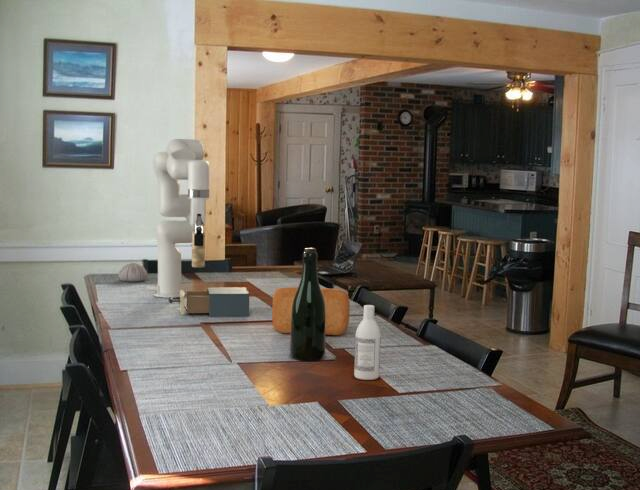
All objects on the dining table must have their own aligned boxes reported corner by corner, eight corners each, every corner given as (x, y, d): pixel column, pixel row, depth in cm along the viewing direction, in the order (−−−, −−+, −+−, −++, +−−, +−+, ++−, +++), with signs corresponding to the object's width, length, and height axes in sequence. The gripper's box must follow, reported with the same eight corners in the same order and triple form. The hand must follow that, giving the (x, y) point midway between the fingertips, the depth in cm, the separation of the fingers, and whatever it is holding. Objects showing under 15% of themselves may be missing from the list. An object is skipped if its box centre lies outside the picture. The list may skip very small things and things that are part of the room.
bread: (348, 290, 266) (354, 286, 284) (271, 287, 269) (281, 283, 286) (347, 336, 267) (353, 330, 285) (270, 333, 270) (280, 326, 287)
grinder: (192, 267, 290) (192, 231, 288) (191, 265, 294) (191, 230, 292) (205, 267, 291) (205, 231, 289) (204, 265, 295) (204, 230, 294)
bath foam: (365, 372, 225) (367, 302, 222) (384, 377, 221) (387, 306, 218) (348, 377, 220) (351, 305, 217) (368, 382, 215) (370, 309, 213)
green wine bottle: (310, 363, 233) (313, 250, 228) (282, 357, 239) (285, 247, 234) (331, 356, 242) (335, 248, 237) (304, 351, 247) (307, 245, 243)
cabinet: (209, 316, 295) (209, 293, 294) (207, 309, 309) (207, 287, 308) (249, 316, 299) (249, 293, 298) (245, 308, 313) (245, 287, 312)
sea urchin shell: (143, 283, 366) (143, 265, 365) (113, 282, 366) (113, 264, 365) (151, 278, 379) (151, 262, 378) (122, 277, 379) (122, 261, 378)
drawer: (169, 314, 292) (169, 296, 291) (168, 307, 305) (168, 290, 304) (218, 313, 296) (218, 295, 296) (215, 307, 309) (216, 289, 308)
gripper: (187, 193, 296) (186, 242, 299) (188, 195, 280) (188, 247, 282) (207, 193, 298) (207, 242, 300) (210, 195, 282) (210, 247, 284)
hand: (198, 244), depth 291 cm, fingers closed on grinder, 4 cm apart
